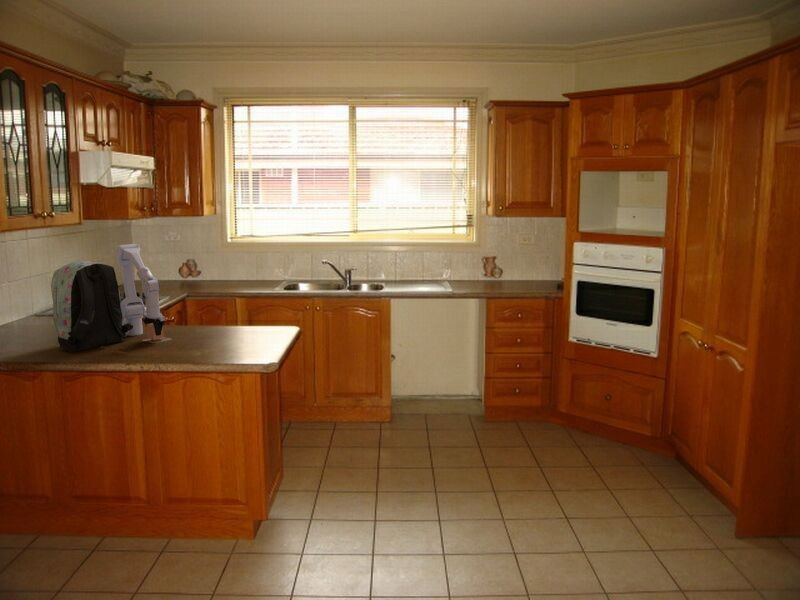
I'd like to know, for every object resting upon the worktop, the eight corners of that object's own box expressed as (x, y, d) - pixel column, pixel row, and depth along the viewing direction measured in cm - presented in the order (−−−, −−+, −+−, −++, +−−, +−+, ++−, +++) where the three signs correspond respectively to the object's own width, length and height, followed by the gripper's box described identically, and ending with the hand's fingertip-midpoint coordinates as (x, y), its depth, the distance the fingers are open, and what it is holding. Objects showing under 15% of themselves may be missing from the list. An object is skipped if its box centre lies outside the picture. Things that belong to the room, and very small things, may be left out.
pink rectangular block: (147, 338, 305) (146, 324, 304) (157, 336, 309) (156, 322, 308) (153, 339, 302) (152, 325, 301) (163, 337, 306) (162, 323, 305)
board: (141, 341, 306) (141, 340, 306) (160, 337, 314) (160, 336, 314) (154, 345, 300) (153, 343, 300) (173, 340, 308) (172, 339, 308)
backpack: (102, 335, 320) (95, 256, 314) (137, 340, 309) (131, 258, 302) (40, 350, 292) (30, 263, 285) (76, 356, 281) (67, 266, 274)
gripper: (169, 305, 302) (171, 334, 304) (151, 302, 310) (153, 330, 313) (156, 308, 296) (158, 337, 299) (137, 304, 305) (139, 333, 307)
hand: (154, 334), depth 305 cm, fingers closed on pink rectangular block, 5 cm apart
